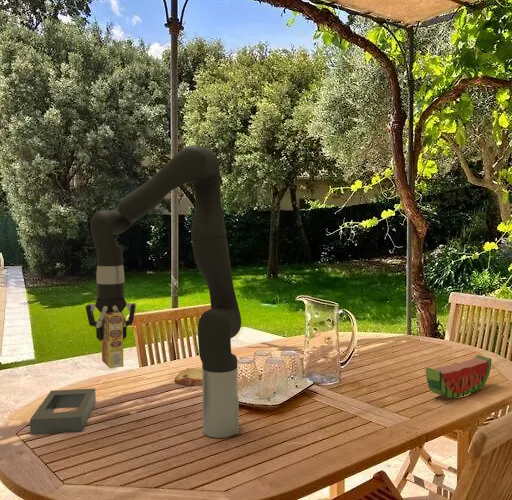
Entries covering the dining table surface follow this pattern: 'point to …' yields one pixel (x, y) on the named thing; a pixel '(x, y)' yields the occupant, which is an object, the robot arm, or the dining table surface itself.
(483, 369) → the fruit slice
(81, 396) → the rectangular frame
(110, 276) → the robot arm
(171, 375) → the dining table surface
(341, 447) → the dining table surface
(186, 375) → the bread slice
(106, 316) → the candy box
